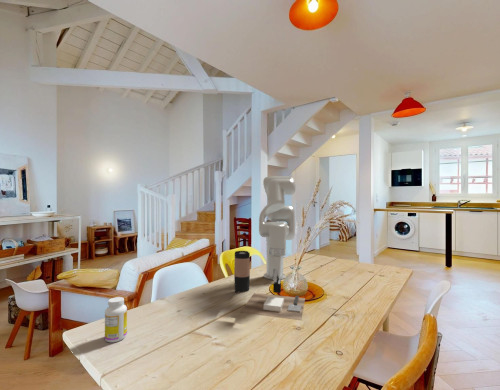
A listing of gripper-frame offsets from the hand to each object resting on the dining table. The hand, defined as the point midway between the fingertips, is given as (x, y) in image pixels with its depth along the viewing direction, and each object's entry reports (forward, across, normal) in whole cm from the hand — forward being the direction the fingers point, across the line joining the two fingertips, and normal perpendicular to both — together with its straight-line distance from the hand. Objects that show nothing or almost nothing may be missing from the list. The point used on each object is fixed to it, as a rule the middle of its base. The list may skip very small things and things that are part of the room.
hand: (277, 291), depth 118 cm
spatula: (+3, +4, +9) cm, 10 cm away
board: (+5, +6, 0) cm, 8 cm away
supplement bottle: (+5, +45, -47) cm, 65 cm away
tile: (+2, +4, 0) cm, 4 cm away
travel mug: (+5, -8, -19) cm, 21 cm away
